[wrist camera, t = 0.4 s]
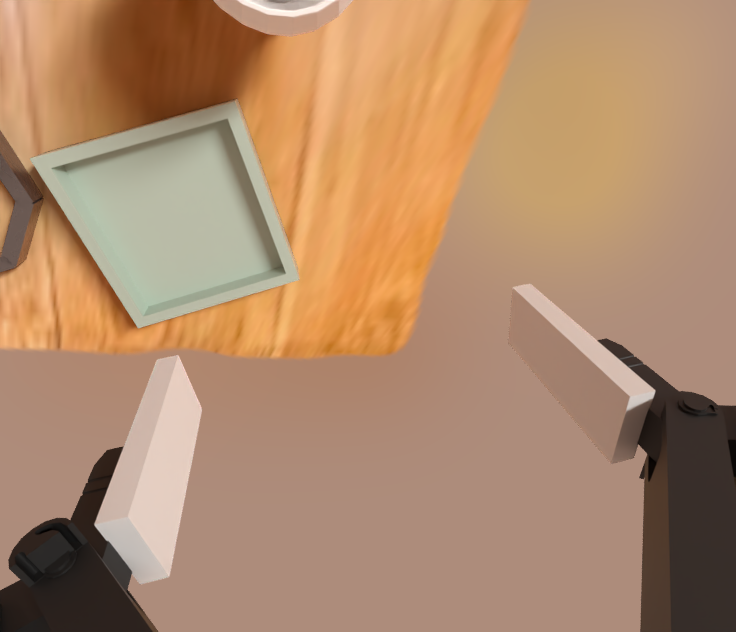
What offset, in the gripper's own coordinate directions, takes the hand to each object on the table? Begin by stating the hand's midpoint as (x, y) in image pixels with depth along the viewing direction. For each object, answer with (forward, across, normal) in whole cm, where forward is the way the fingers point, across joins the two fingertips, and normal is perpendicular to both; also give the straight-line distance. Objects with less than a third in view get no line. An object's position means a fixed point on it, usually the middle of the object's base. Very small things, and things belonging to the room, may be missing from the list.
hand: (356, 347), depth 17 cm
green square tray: (+27, -11, -1) cm, 30 cm away
